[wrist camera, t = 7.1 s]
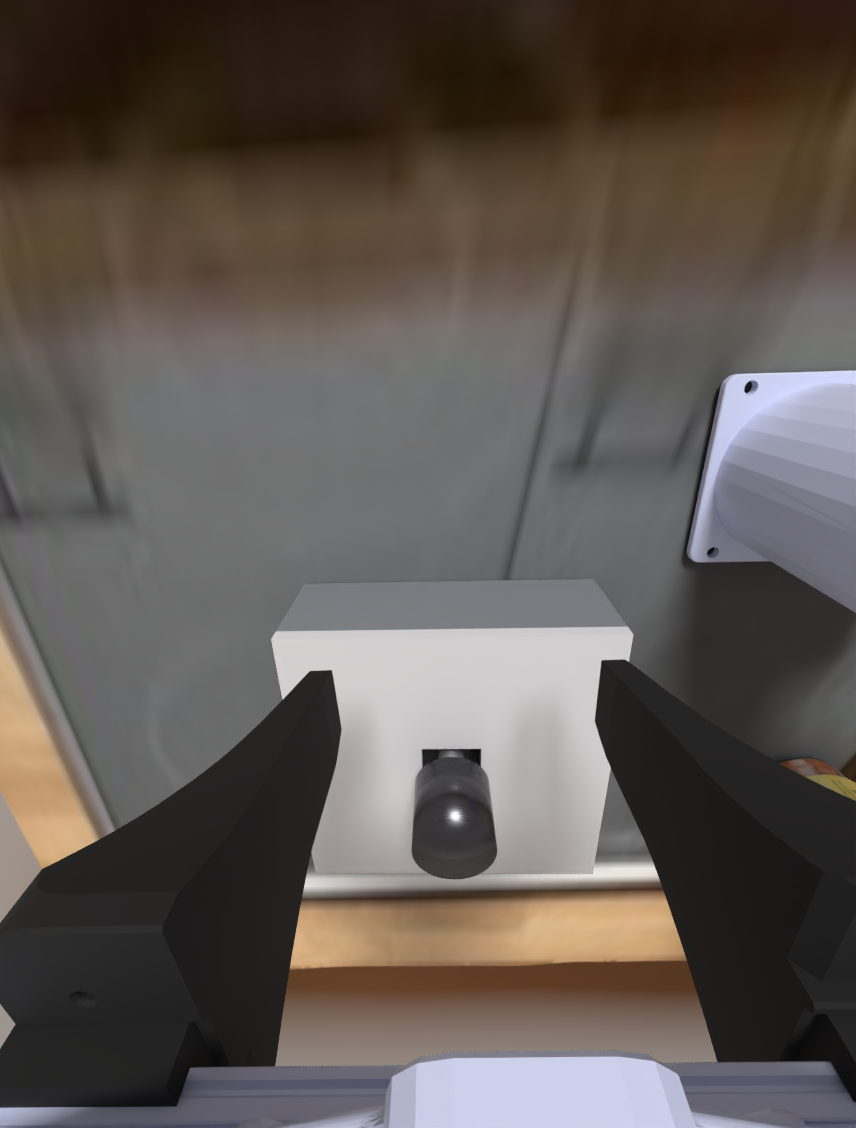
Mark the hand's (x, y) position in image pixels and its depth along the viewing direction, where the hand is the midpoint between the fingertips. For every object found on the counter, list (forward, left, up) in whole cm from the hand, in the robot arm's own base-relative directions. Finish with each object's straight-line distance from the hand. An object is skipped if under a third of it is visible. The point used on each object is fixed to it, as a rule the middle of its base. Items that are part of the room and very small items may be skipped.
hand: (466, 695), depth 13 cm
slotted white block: (0, +9, -10) cm, 13 cm away
